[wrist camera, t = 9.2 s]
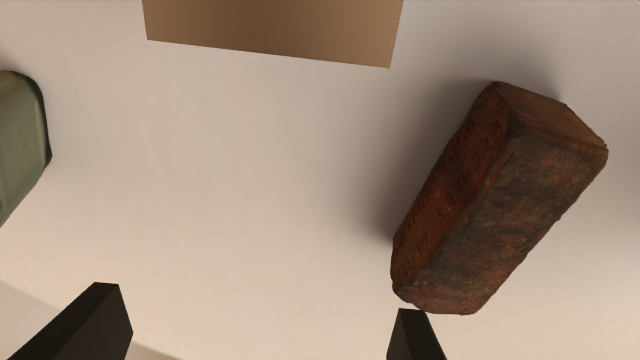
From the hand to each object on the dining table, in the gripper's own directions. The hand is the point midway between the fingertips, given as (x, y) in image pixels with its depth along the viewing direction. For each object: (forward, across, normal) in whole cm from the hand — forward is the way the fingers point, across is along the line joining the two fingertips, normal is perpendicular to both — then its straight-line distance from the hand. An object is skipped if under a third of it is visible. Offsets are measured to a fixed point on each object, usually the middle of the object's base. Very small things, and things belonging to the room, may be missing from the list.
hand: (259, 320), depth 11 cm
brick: (+11, -8, +2) cm, 14 cm away
